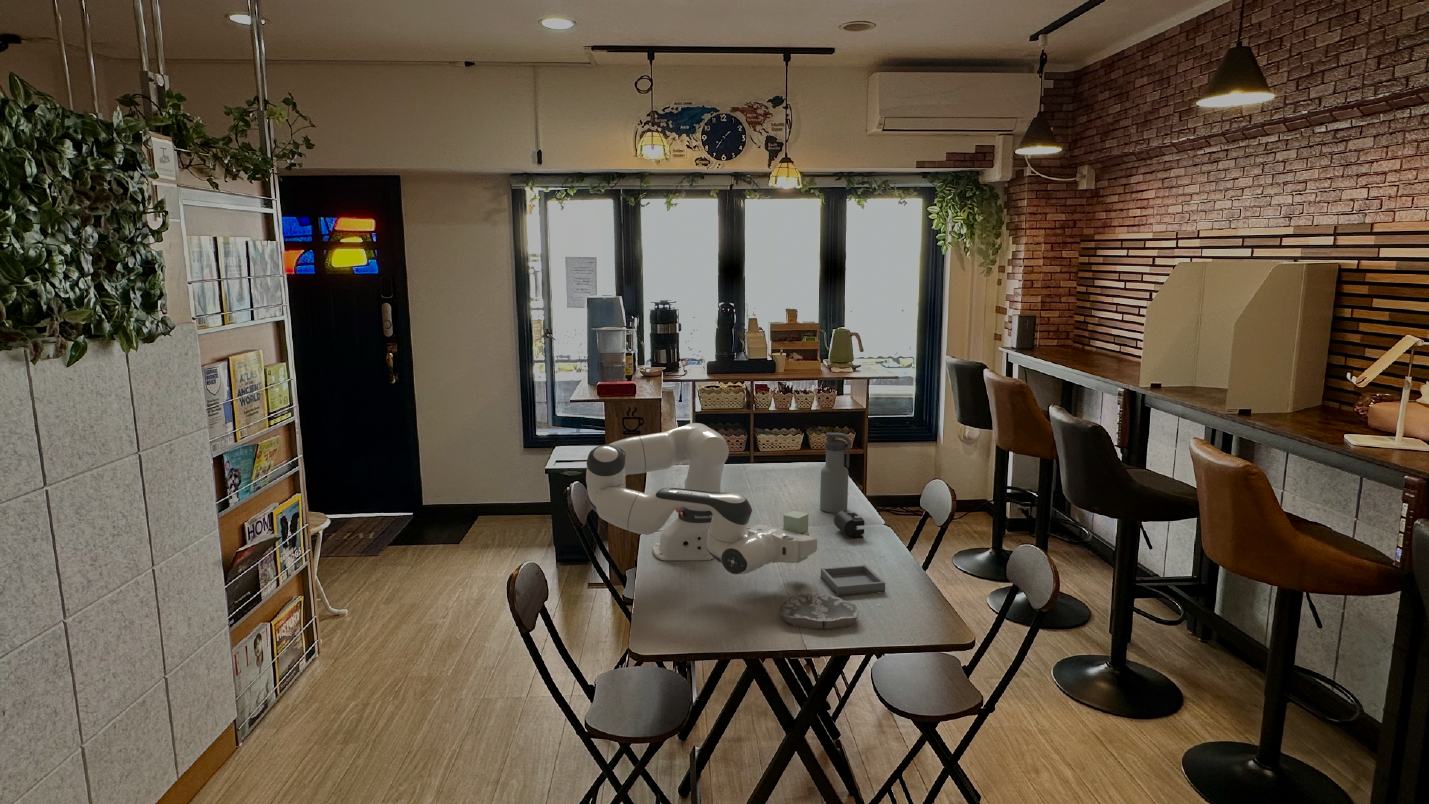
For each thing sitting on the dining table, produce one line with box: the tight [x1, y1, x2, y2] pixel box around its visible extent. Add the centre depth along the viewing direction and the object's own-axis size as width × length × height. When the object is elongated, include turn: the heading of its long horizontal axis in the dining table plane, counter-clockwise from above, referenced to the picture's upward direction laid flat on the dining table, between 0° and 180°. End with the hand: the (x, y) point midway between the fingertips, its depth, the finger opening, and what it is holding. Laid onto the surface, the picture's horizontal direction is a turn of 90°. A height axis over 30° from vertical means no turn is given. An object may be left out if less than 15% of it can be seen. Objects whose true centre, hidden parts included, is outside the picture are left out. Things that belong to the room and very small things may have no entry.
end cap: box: [833, 511, 866, 540], centre depth 276 cm, size 10×7×7 cm
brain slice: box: [779, 593, 859, 630], centre depth 213 cm, size 20×17×3 cm
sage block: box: [782, 510, 809, 564], centre depth 238 cm, size 5×5×13 cm
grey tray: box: [820, 564, 886, 598], centre depth 234 cm, size 14×14×3 cm
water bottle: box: [819, 431, 852, 514], centre depth 302 cm, size 10×10×28 cm
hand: (797, 532), depth 238 cm, fingers closed on sage block, 5 cm apart
